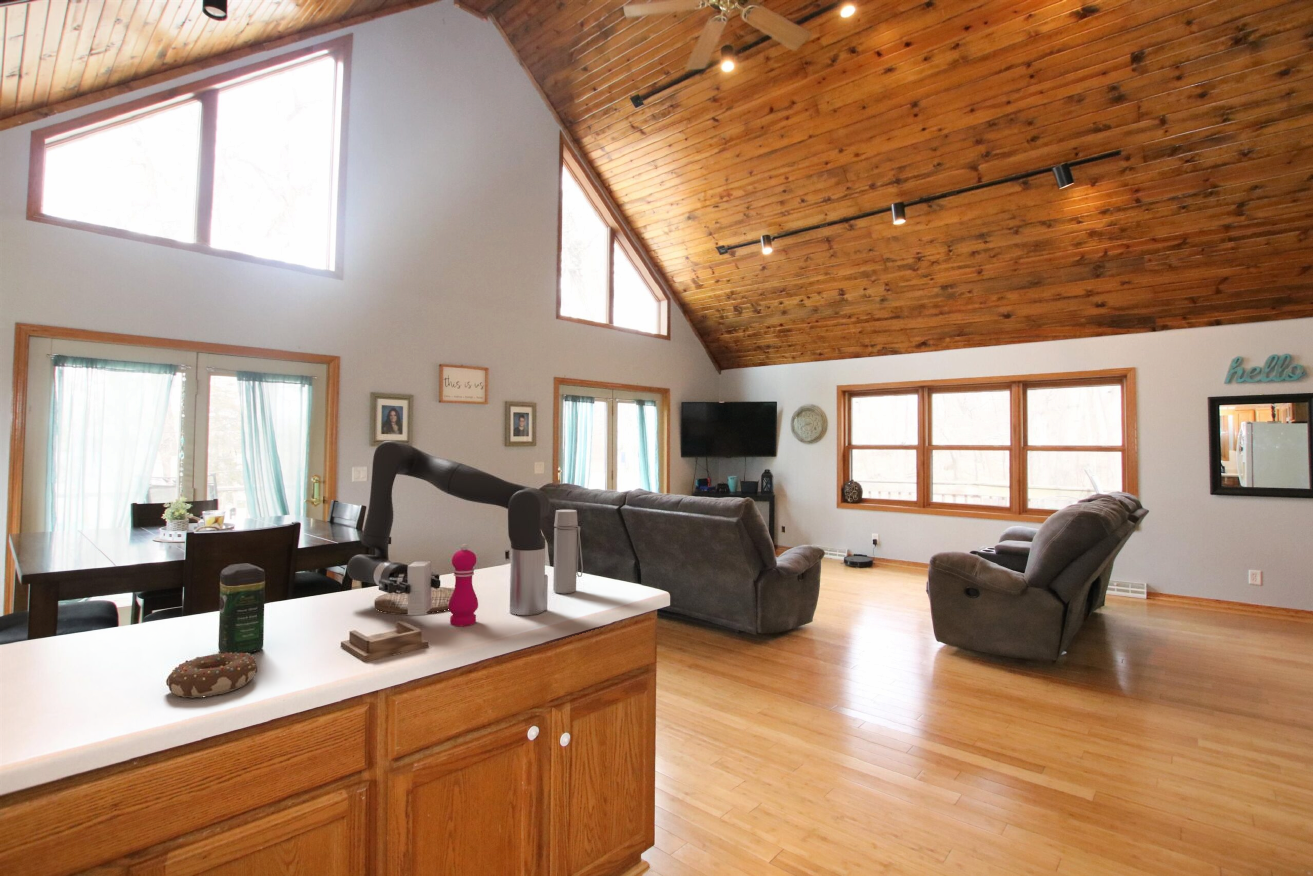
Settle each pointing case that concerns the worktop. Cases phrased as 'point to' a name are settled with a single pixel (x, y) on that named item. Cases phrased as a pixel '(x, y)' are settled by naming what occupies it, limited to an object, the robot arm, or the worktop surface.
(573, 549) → the water bottle
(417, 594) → the skincare box
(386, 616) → the worktop surface
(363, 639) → the u rest
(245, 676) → the donut
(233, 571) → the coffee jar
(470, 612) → the pepper mill
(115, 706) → the worktop surface
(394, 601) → the trivet
